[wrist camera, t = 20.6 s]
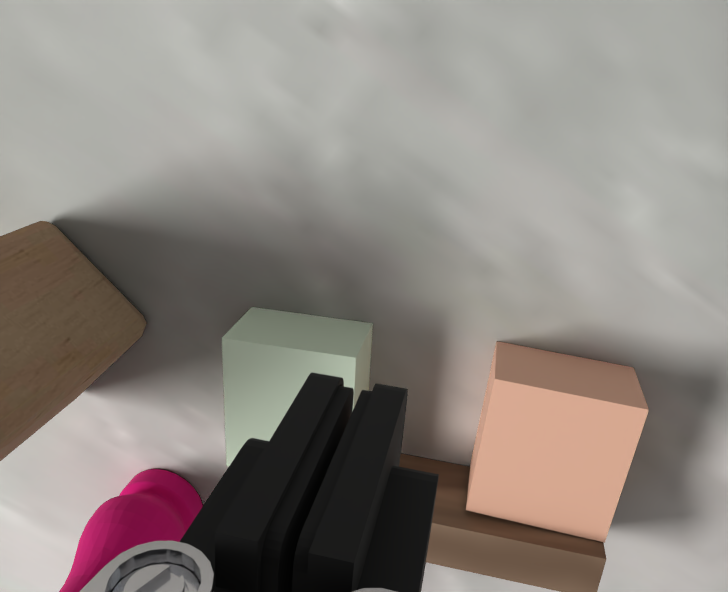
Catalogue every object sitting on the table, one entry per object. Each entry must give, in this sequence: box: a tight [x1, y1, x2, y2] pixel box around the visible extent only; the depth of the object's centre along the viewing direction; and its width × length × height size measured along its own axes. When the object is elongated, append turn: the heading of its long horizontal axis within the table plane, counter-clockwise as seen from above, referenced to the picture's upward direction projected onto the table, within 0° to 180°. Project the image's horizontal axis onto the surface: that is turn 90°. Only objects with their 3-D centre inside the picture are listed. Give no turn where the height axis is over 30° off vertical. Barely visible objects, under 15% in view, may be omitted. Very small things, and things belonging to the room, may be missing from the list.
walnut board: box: [399, 454, 606, 592], centre depth 41 cm, size 3×22×6 cm, turn 85°
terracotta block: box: [466, 341, 649, 543], centre depth 38 cm, size 9×8×5 cm
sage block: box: [222, 307, 373, 466], centre depth 41 cm, size 9×8×5 cm
